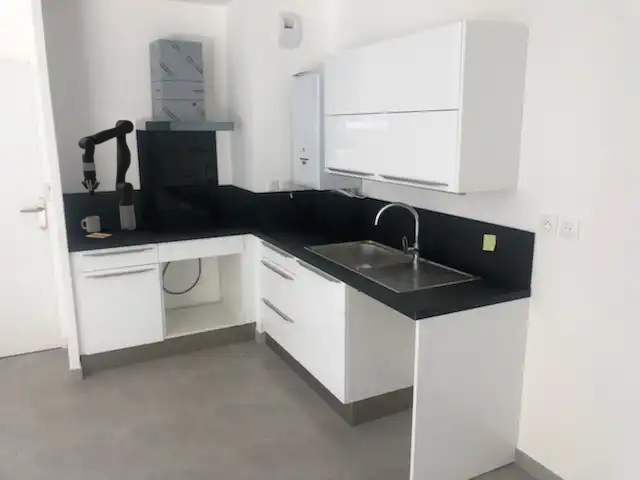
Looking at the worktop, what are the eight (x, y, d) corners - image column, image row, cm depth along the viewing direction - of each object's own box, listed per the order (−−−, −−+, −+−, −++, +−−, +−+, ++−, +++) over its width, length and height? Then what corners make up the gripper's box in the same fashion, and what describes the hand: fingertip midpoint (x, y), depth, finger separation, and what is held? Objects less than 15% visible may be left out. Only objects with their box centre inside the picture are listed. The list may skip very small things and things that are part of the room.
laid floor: (95, 235, 352) (95, 232, 352) (113, 236, 348) (113, 234, 348) (84, 238, 342) (84, 236, 341) (102, 240, 338) (102, 238, 338)
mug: (102, 231, 363) (101, 215, 360) (98, 234, 354) (96, 218, 352) (84, 231, 362) (83, 216, 359) (80, 234, 354) (78, 218, 351)
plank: (95, 234, 351) (95, 232, 351) (104, 235, 350) (104, 233, 349) (85, 237, 342) (85, 235, 342) (94, 238, 340) (94, 237, 340)
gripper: (101, 169, 341) (104, 195, 345) (84, 168, 344) (87, 194, 348) (94, 170, 334) (96, 197, 338) (76, 169, 337) (79, 196, 341)
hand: (92, 196), depth 343 cm, fingers closed
